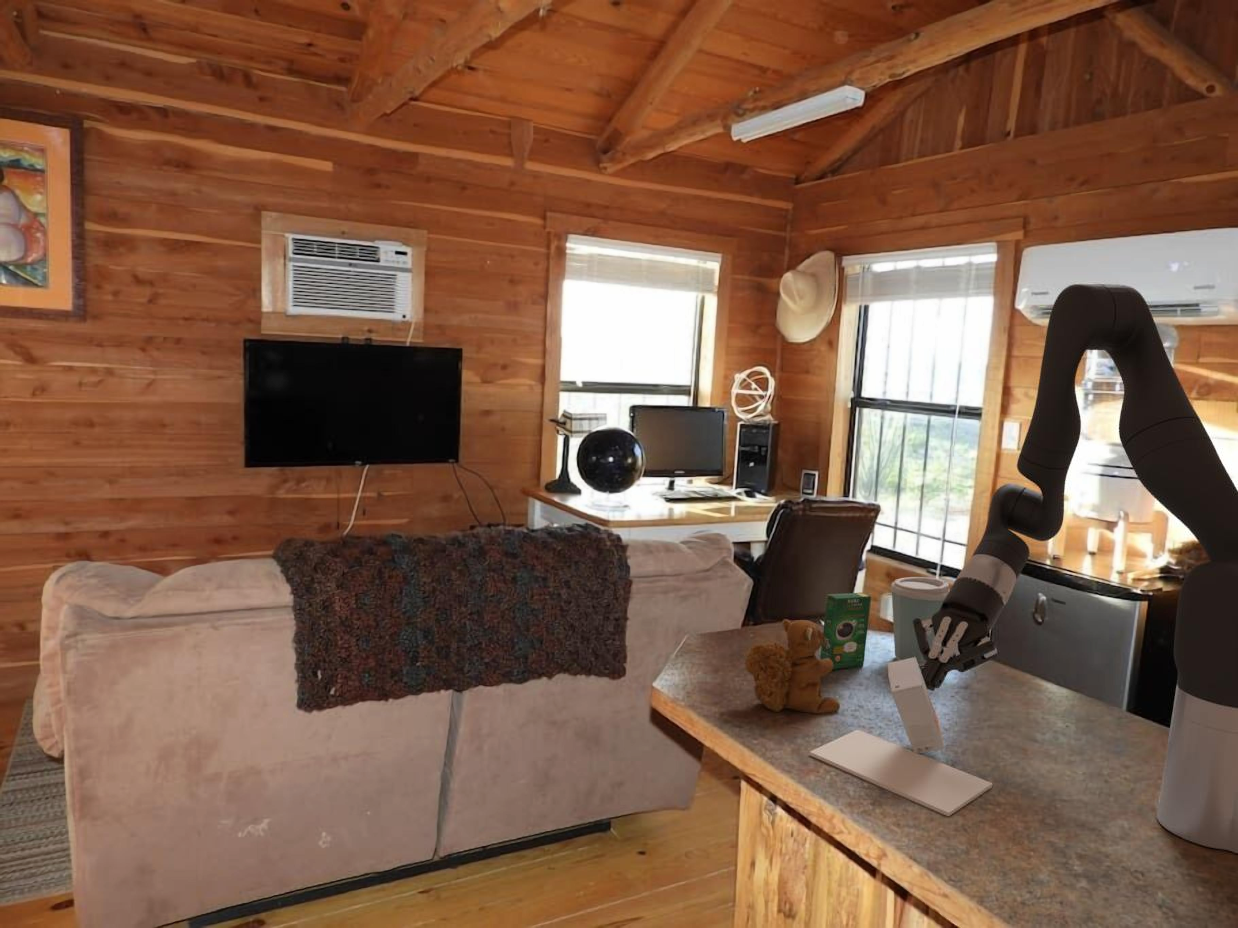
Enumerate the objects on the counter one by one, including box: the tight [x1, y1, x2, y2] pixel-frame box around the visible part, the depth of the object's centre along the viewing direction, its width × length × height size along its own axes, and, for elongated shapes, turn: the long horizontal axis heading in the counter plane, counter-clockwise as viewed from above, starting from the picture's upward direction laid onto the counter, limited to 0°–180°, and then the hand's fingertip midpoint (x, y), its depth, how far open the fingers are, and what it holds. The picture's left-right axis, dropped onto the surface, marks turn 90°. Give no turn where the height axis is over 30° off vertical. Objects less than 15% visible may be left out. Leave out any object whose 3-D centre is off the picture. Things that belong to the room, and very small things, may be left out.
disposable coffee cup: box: [890, 576, 950, 667], centre depth 163 cm, size 11×11×15 cm
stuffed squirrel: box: [742, 618, 841, 715], centre depth 139 cm, size 10×14×13 cm
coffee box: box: [819, 592, 872, 671], centre depth 157 cm, size 8×3×13 cm, turn 115°
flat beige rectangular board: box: [809, 729, 993, 817], centre depth 119 cm, size 20×12×1 cm, turn 44°
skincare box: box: [886, 657, 945, 755], centre depth 124 cm, size 6×4×12 cm
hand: (926, 686), depth 126 cm, fingers closed
